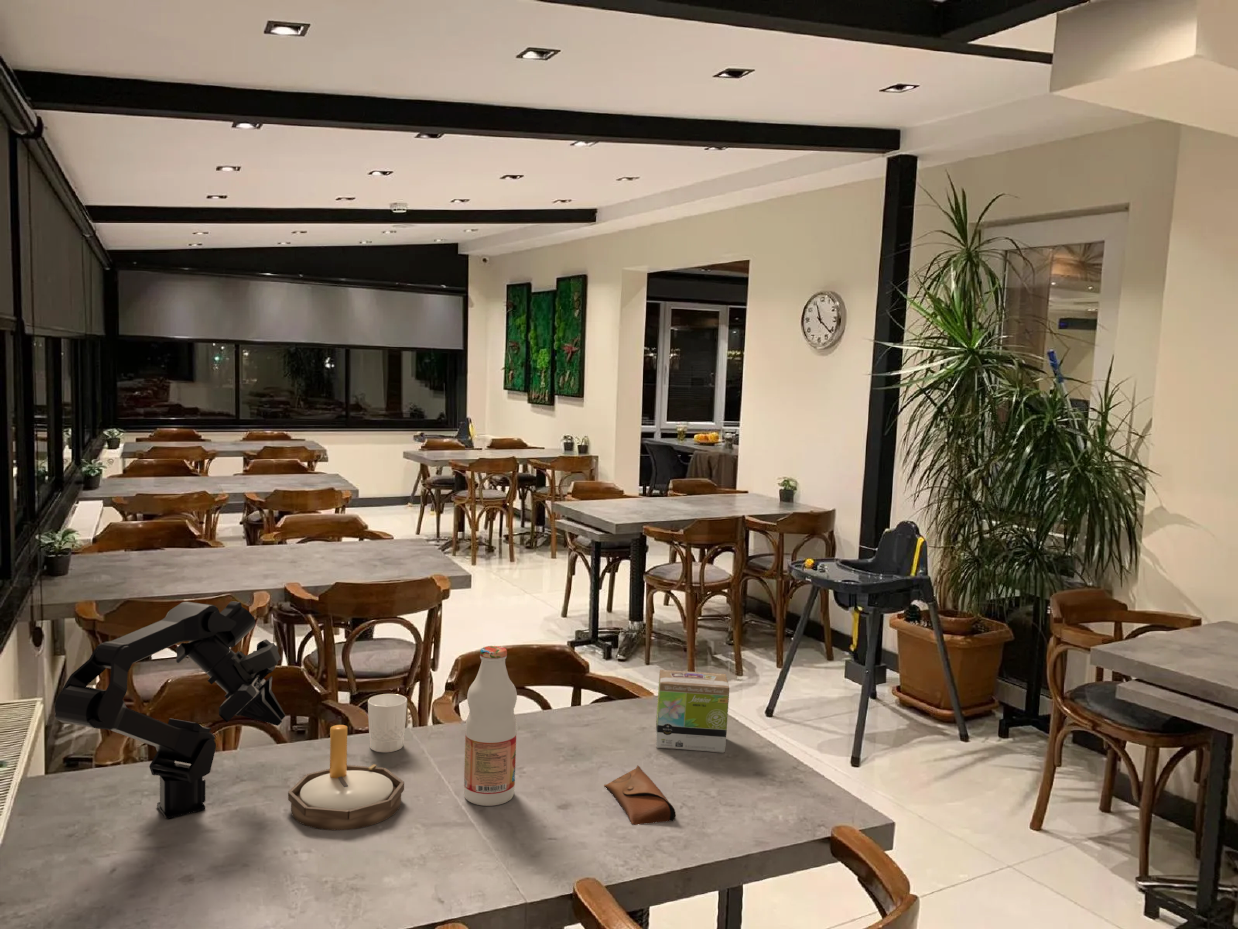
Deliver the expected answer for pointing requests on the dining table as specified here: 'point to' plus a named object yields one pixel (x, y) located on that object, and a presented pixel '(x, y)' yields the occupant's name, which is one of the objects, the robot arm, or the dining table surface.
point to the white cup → (387, 722)
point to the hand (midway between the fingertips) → (281, 721)
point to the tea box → (692, 711)
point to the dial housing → (345, 818)
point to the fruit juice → (490, 732)
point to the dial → (344, 781)
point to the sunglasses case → (641, 798)
